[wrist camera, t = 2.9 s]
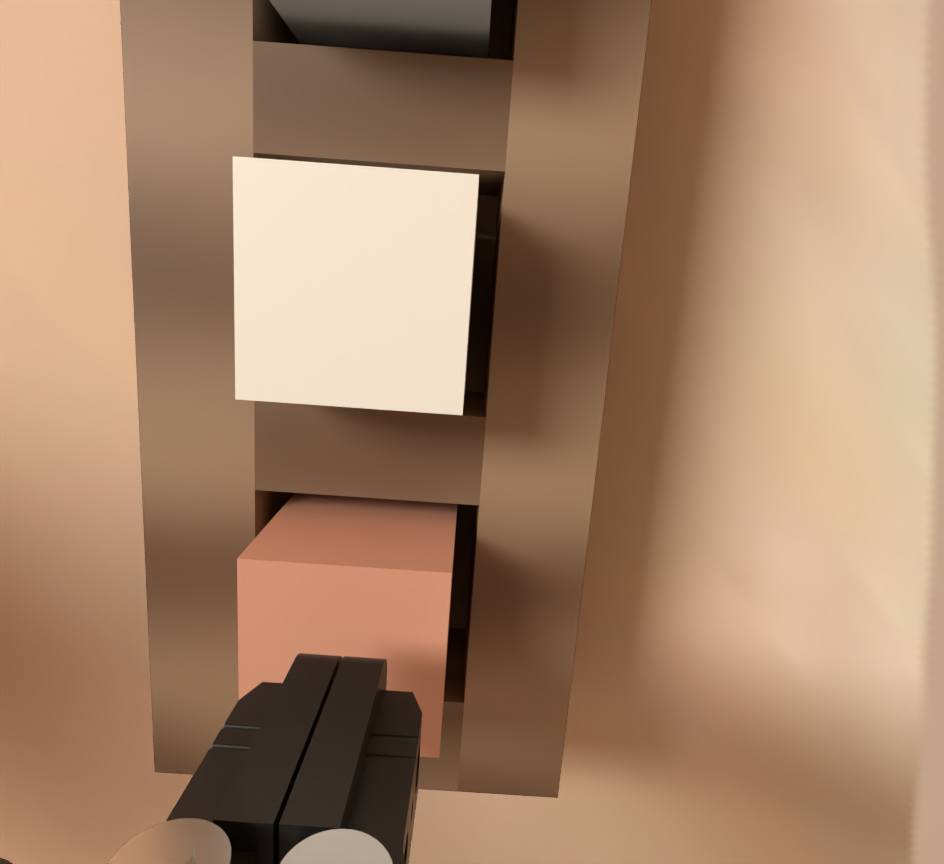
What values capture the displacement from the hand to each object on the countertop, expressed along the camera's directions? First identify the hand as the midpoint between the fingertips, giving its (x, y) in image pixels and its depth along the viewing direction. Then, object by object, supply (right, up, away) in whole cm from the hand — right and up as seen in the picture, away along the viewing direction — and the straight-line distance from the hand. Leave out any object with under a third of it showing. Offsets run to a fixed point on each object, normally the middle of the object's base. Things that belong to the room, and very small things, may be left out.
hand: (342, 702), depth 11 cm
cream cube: (0, +8, +4) cm, 9 cm away
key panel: (0, +8, +6) cm, 10 cm away
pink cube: (0, +1, +5) cm, 5 cm away
